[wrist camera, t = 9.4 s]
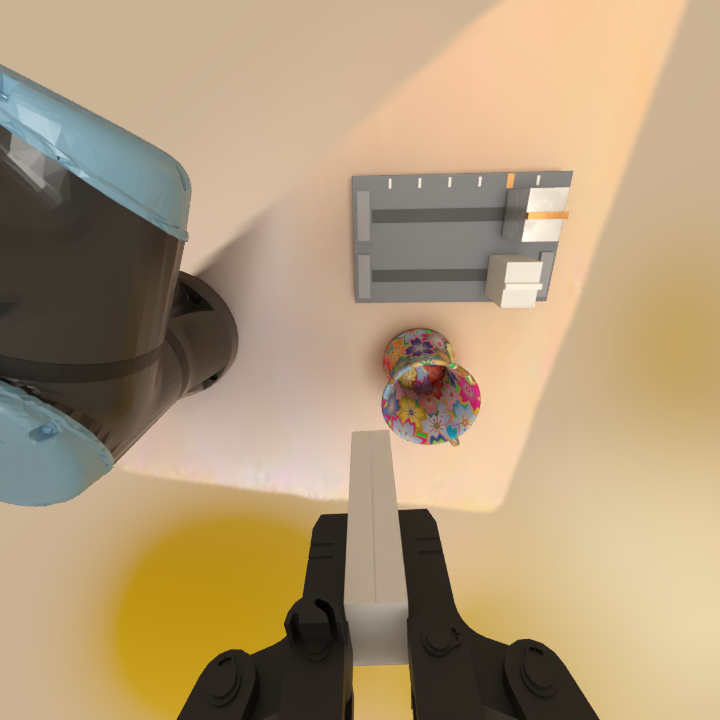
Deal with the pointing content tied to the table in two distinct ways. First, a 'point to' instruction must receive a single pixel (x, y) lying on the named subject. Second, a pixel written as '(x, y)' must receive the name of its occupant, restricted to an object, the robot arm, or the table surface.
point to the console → (447, 239)
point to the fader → (535, 214)
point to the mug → (427, 390)
